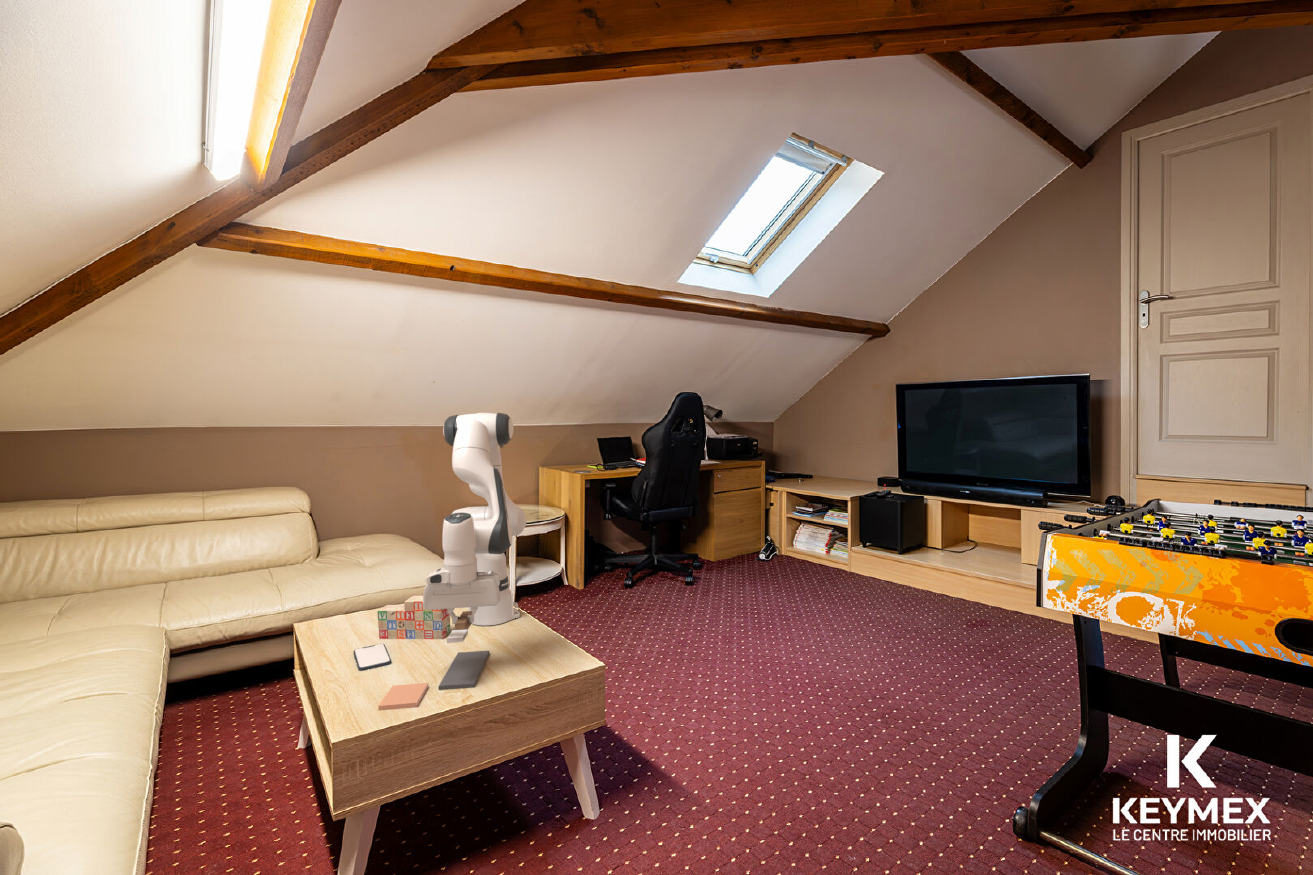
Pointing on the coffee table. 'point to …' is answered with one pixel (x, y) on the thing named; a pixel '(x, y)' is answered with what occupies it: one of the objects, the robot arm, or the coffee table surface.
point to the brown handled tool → (460, 628)
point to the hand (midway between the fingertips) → (463, 622)
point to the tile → (403, 696)
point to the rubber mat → (464, 670)
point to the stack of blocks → (413, 621)
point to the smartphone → (372, 657)
